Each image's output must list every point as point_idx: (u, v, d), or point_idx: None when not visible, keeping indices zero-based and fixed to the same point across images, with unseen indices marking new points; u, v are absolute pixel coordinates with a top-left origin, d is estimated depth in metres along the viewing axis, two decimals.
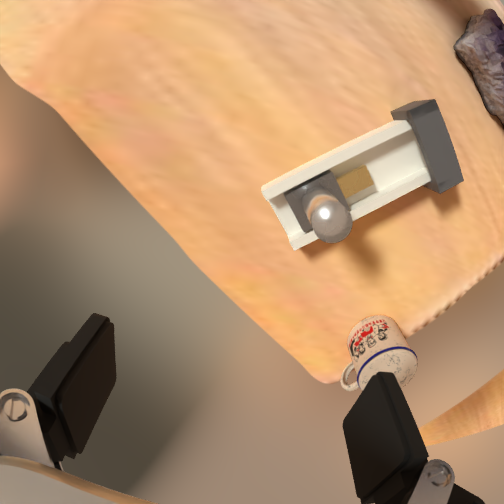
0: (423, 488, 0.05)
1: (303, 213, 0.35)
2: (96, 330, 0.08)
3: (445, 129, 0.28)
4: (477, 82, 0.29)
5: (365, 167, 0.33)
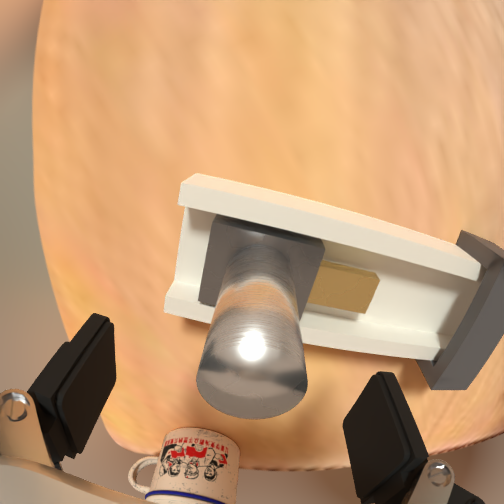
0: (423, 488, 0.05)
1: (220, 273, 0.17)
2: (96, 330, 0.08)
3: None
4: None
5: (376, 282, 0.17)
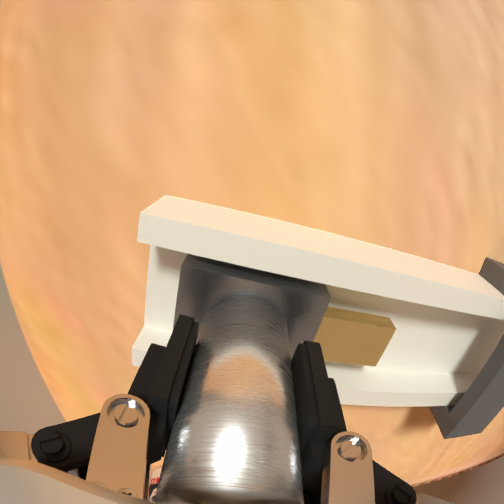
0: (339, 469, 0.06)
1: None
2: (189, 330, 0.10)
3: None
4: None
5: (392, 331, 0.13)
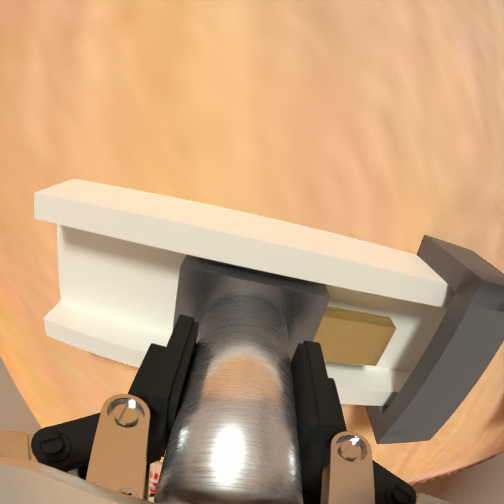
0: (339, 469, 0.06)
1: None
2: (189, 330, 0.10)
3: (491, 356, 0.11)
4: None
5: (392, 330, 0.13)
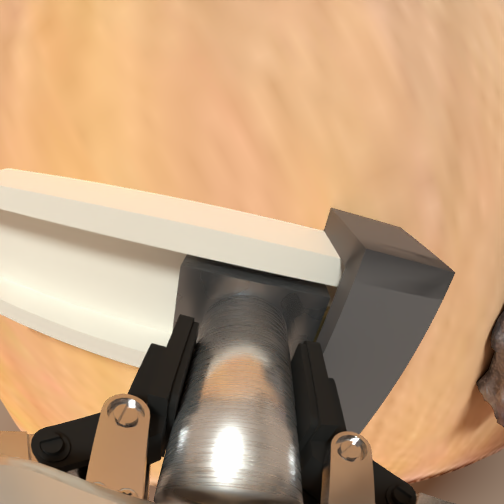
0: (339, 469, 0.06)
1: None
2: (189, 330, 0.10)
3: (410, 351, 0.11)
4: None
5: None
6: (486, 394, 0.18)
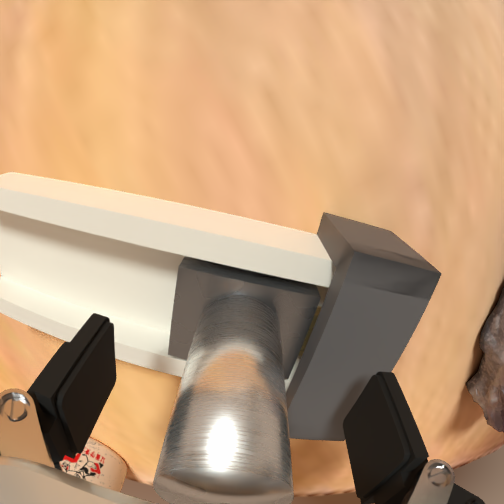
0: (423, 488, 0.05)
1: (192, 326, 0.13)
2: (96, 330, 0.08)
3: (399, 349, 0.12)
4: None
5: None
6: (476, 395, 0.18)
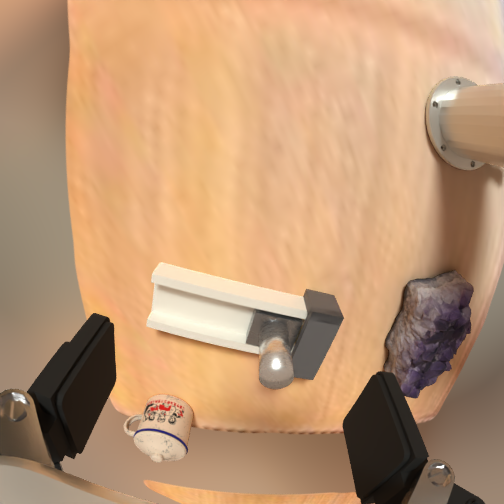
0: (423, 488, 0.05)
1: (257, 332, 0.38)
2: (96, 330, 0.08)
3: (330, 341, 0.36)
4: (398, 319, 0.40)
5: None
6: (387, 371, 0.43)
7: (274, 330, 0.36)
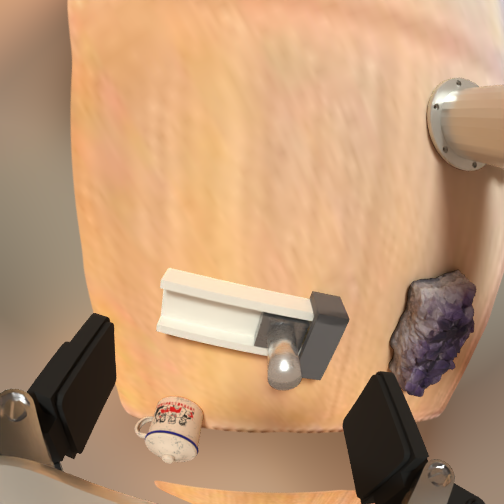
0: (423, 488, 0.05)
1: (265, 334, 0.39)
2: (96, 330, 0.08)
3: (336, 342, 0.37)
4: (402, 318, 0.41)
5: None
6: (392, 370, 0.43)
7: (282, 332, 0.36)
